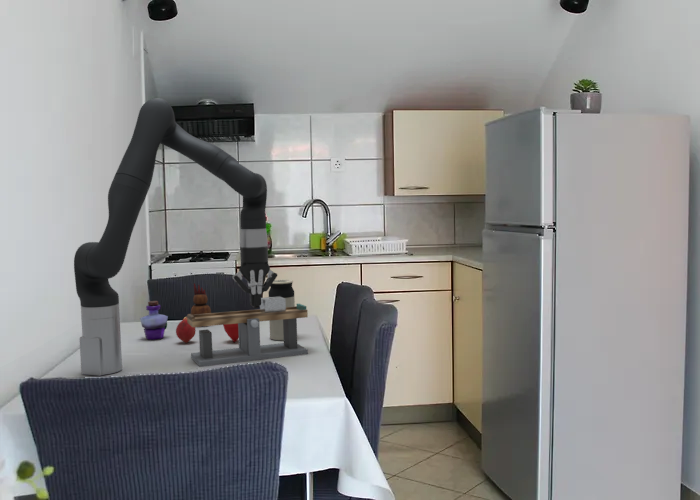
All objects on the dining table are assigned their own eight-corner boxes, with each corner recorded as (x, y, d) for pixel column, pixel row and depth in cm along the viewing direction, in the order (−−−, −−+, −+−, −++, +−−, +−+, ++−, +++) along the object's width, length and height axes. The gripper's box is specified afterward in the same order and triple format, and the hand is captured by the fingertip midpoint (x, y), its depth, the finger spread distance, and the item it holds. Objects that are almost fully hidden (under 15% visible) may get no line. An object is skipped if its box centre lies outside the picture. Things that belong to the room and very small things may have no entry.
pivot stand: (200, 367, 175) (198, 325, 175) (190, 356, 188) (188, 317, 187) (309, 354, 187) (307, 315, 186) (292, 345, 200) (291, 308, 199)
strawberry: (232, 345, 202) (231, 312, 201) (219, 341, 208) (218, 309, 207) (249, 342, 206) (248, 309, 205) (236, 338, 211) (235, 307, 211)
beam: (192, 327, 177) (192, 316, 177) (187, 322, 184) (186, 311, 184) (307, 317, 190) (307, 306, 189) (298, 313, 197) (298, 303, 197)
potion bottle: (174, 337, 216) (172, 300, 215) (153, 342, 209) (151, 304, 208) (156, 334, 221) (154, 298, 220) (134, 339, 214) (133, 302, 213)
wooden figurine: (188, 327, 234) (186, 284, 233) (197, 324, 239) (195, 282, 238) (206, 327, 232) (204, 284, 231) (214, 324, 238) (212, 282, 236)
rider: (265, 314, 186) (264, 300, 186) (260, 312, 191) (259, 298, 191) (285, 312, 189) (285, 298, 189) (280, 310, 193) (279, 296, 193)
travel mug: (272, 341, 206) (270, 283, 204) (268, 336, 213) (266, 280, 212) (297, 339, 208) (296, 281, 207) (293, 334, 215) (291, 278, 214)
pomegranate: (190, 345, 204) (189, 318, 203) (173, 344, 205) (172, 318, 204) (199, 341, 209) (197, 315, 209) (181, 340, 211) (180, 315, 210)
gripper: (233, 247, 180) (235, 311, 182) (280, 244, 186) (282, 307, 187) (227, 245, 187) (229, 307, 189) (272, 243, 193) (274, 303, 194)
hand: (255, 307), depth 188 cm, fingers closed
